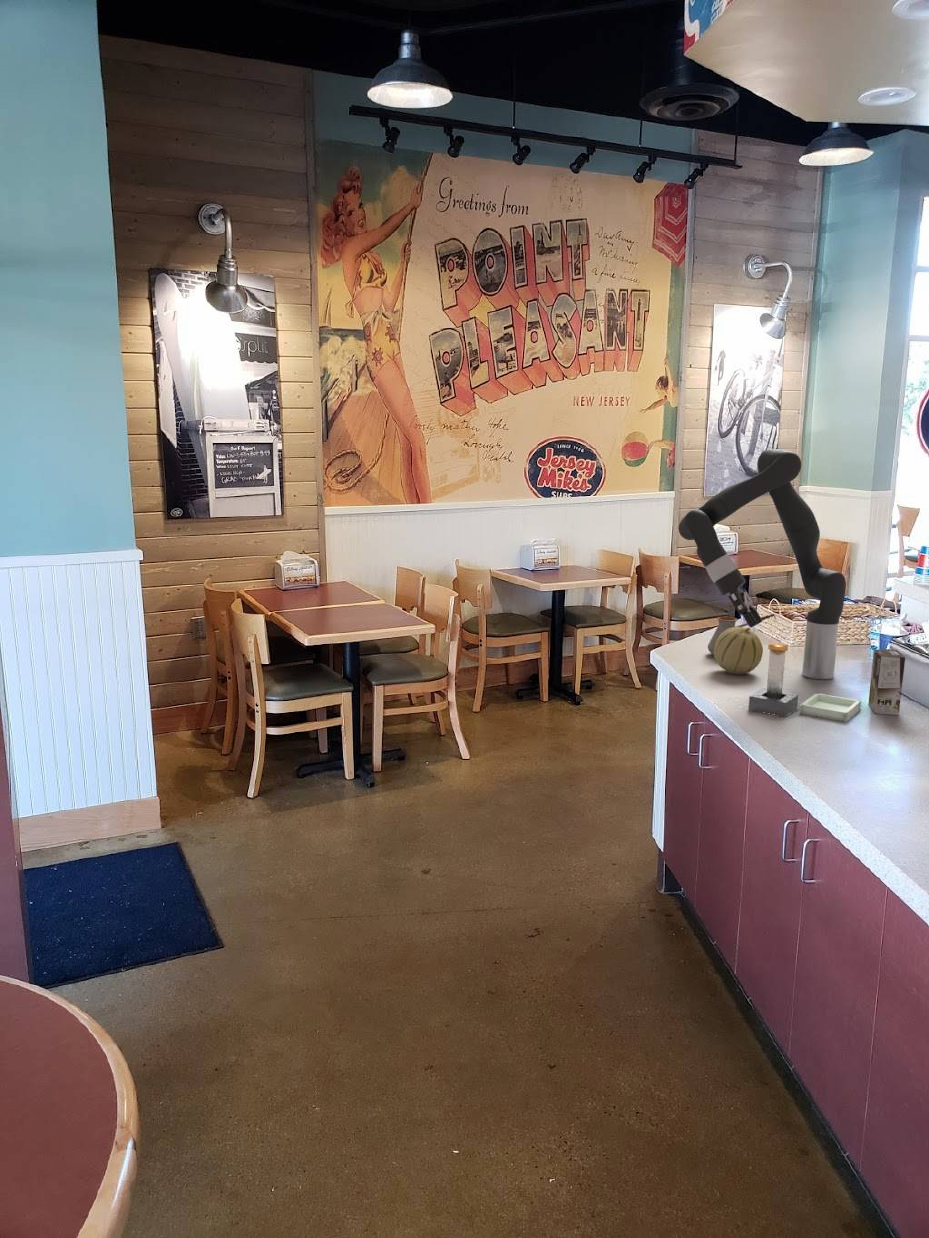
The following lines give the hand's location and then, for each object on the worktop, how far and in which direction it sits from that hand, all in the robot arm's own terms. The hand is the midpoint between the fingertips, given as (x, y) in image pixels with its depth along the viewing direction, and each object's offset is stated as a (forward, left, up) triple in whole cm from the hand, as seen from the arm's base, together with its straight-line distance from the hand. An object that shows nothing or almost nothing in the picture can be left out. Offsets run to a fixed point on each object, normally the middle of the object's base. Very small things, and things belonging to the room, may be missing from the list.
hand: (756, 624), depth 261 cm
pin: (+3, +7, -22) cm, 24 cm away
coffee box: (-16, +31, -23) cm, 42 cm away
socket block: (+3, +7, -22) cm, 24 cm away
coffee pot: (-48, -22, -23) cm, 58 cm away
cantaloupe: (-27, -15, -23) cm, 38 cm away
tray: (-5, +20, -22) cm, 31 cm away
